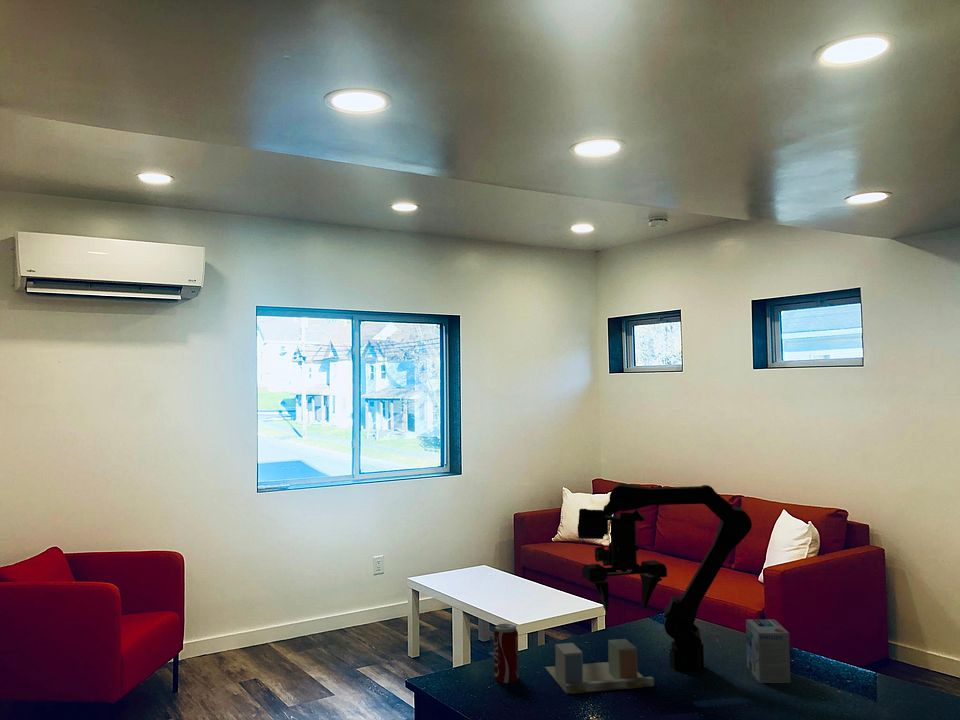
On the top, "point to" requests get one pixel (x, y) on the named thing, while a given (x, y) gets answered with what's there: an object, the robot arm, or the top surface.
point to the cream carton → (568, 663)
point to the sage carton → (622, 659)
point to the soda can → (505, 653)
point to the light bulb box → (768, 651)
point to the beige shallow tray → (601, 680)
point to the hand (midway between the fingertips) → (625, 609)
